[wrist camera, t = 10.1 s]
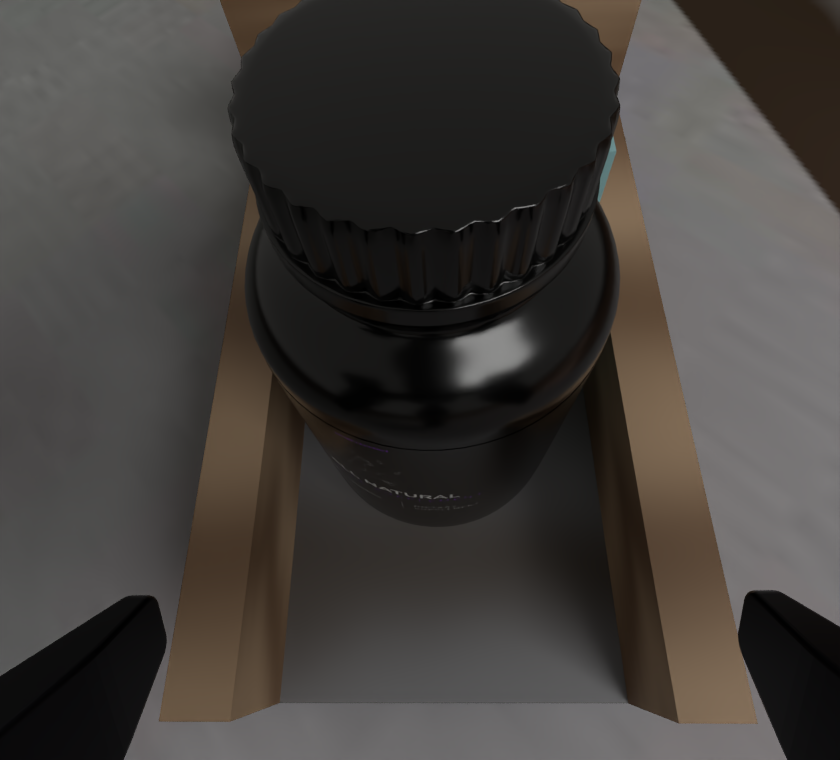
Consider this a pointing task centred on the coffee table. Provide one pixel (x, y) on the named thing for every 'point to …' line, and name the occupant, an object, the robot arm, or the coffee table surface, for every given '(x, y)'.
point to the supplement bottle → (429, 236)
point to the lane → (462, 534)
